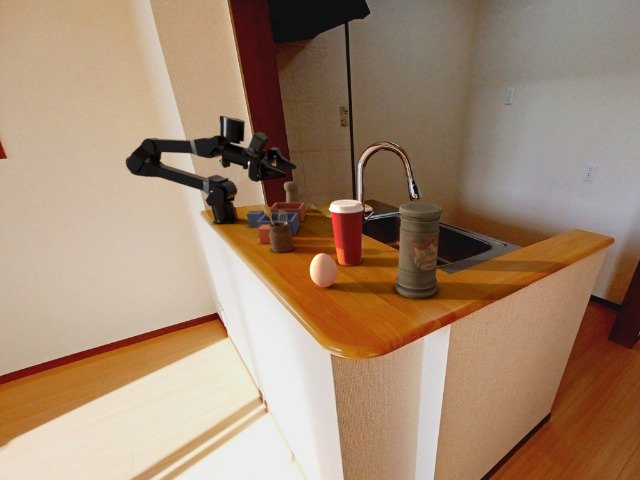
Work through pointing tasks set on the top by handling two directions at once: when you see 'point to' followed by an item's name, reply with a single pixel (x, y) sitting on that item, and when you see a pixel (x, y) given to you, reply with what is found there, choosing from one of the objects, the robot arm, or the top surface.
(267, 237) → the terracotta block
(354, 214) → the coffee cup
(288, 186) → the cork
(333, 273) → the egg
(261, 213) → the slate block
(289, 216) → the blue bin
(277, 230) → the utensil holder
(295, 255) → the top surface
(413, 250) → the container
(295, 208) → the terracotta bin
